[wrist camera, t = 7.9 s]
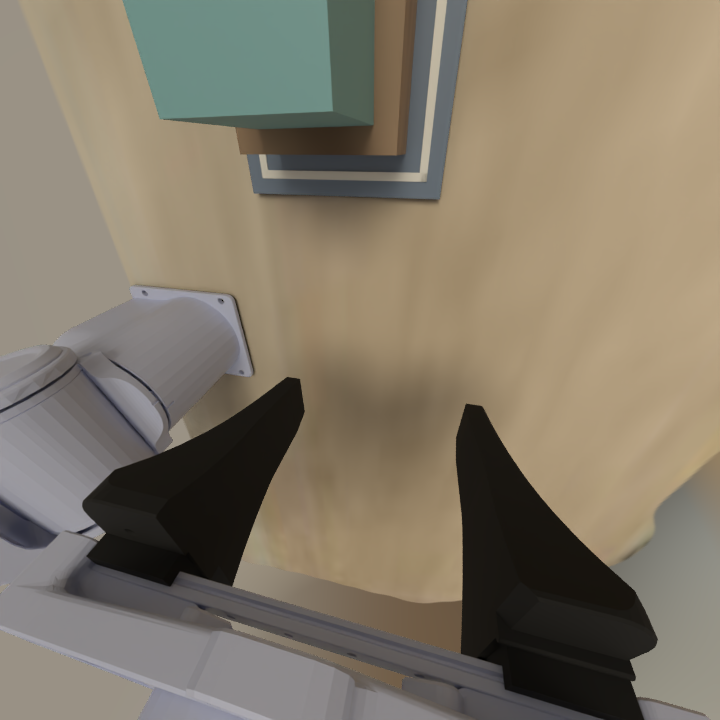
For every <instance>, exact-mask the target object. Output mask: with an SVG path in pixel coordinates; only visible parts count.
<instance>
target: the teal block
mask: <svg viewBox="0 0 720 720" xmlns="http://www.w3.org/2000/svg"><path fill="white" fill-rule="evenodd" d="M123 3H124V6H125V10H126V13H127V16H128V19H129V22H130V26H131V29H132V32H133V35H134V38H135V41H136V45H137V48H138V51H139V54H140V57H141V60H142V64H143V67H144V70H145V73H146V76H147V80H148V83H149V86H150V89H151V92H152V95H153V99H154V102H155V105H156V108H157V111H158V115H159V118H160V119H164V120H173V121H183V122H192V123H202V124H211V125H221V126H230V127H240V128H249V129H284V128H313V127H342V126H371V125H374V29H375V0H123Z"/></svg>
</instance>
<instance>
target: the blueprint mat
mask: <svg viewBox="0 0 720 720" xmlns="http://www.w3.org/2000/svg"><path fill="white" fill-rule="evenodd" d="M466 7H467V0H417V13H416V27H415V40H414V53H413V66H412V79H411V93H410V106H409V119H408V132H407V145H406V154H403V155H264V154H247V158H248V164H249V169H250V175H251V180H252V186H253V191H254V193H260V194H291V195H321V196H352V197H383V198H414V199H440V193H441V185H442V178H443V171H444V164H445V157H446V150H447V143H448V135H449V128H450V121H451V114H452V107H453V100H454V93H455V85H456V78H457V71H458V64H459V57H460V50H461V43H462V36H463V28H464V21H465V14H466Z"/></svg>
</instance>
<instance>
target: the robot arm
mask: <svg viewBox="0 0 720 720" xmlns="http://www.w3.org/2000/svg"><path fill="white" fill-rule="evenodd" d="M129 290H130V293H131V294H132V297H133V299H131V300H129V301H127V302H125V303H123V304H121V305H118V306H117V307H114V308H112V309H110V310H108V311H106V312H104V313H102V314H100V315H98V316H96V317H94V318H92V319H89V320H87V321H85V322H83V323H81V324H79V325H77V326H75V327H73V328H71V329H69V330H68V331H66V332H64V333H63V334H62V335H61V336H60V337H59V338H58V339H57V340H56V341H55V342H54V344H53V345H37V346H33V347H29V348H25V349H21V350H18V351H15V352H12V353H9V354H6V355H3V356H0V586H1V585H6V584H10V585H9V586H7V587H6V588H5V590H3V592H1V593H0V630H2V631H4V632H7V633H10V634H12V635H14V636H17V637H19V638H21V639H24V640H26V641H29V642H31V643H34V644H37V645H39V646H42V647H44V648H47V649H50V650H52V651H55V652H57V653H60V654H63V655H65V656H68V657H70V658H73V659H76V660H78V661H81V662H83V663H86V664H88V665H91V666H94V667H96V668H99V669H101V670H104V671H107V672H109V673H112V674H114V675H117V676H119V677H122V678H125V679H127V680H130V681H132V682H135V683H138V684H140V685H143V686H145V687H148V688H151V689H153V691H152V693H151V695H150V697H149V699H148V701H147V703H146V705H145V706H144V709H143V710H142V712H141V714H140V716H139V718H138V720H710V719H709V718H708V717H707V716H706V715H705V714H703V713H700V712H697V711H694V710H690V709H686V708H683V707H680V706H676V705H673V704H669V703H666V702H662V701H658V700H654V699H650V698H643V697H636V695H635V692H634V689H633V687H632V684H631V681H635V679H636V676H635V673H634V671H633V668H632V665H631V662H630V659H633V658H635V657H637V656H640V655H641V654H644V653H647V652H649V651H650V650H652V649H653V648H655V646H656V644H657V640H658V639H657V636H656V634H655V632H654V630H653V627H652V625H651V623H650V620H649V618H648V616H647V614H646V611H645V609H644V607H643V606H642V604H641V602H640V600H639V598H638V596H637V594H636V592H635V591H634V590H633V589H632V588H631V587H630V586H629V585H628V584H627V583H625V582H624V581H623V580H622V579H621V578H620V577H619V576H618V575H617V574H615V573H614V572H613V571H612V570H611V569H610V568H609V567H608V566H606V565H605V564H604V563H603V562H602V561H601V560H600V559H599V558H598V557H597V556H596V555H594V554H593V553H592V552H591V551H590V550H589V549H588V548H587V547H586V546H585V545H584V544H583V543H582V542H581V541H580V540H579V539H578V538H577V537H576V536H575V535H574V534H573V533H572V532H571V531H570V529H569V528H568V527H567V526H566V525H565V524H564V523H563V522H562V521H561V520H560V519H559V518H558V517H557V515H556V514H555V513H554V512H553V511H552V510H551V509H550V508H549V506H548V505H547V504H546V503H545V502H544V501H543V499H542V498H541V497H540V496H539V494H538V493H537V492H536V491H535V489H534V488H533V487H532V486H531V484H530V483H529V482H528V480H527V479H526V478H525V476H524V475H523V474H522V472H521V471H520V469H519V468H518V466H517V465H516V463H515V462H514V461H513V459H512V457H511V456H510V454H509V453H508V451H507V450H506V448H505V446H504V445H503V443H502V441H501V440H500V438H499V436H498V435H497V433H496V431H495V429H494V428H493V426H492V424H491V422H490V420H489V418H488V416H487V414H486V412H485V410H484V408H483V407H482V406H478V405H471V404H466V405H465V409H464V412H463V416H462V419H461V423H460V426H459V430H458V433H457V436H456V465H457V475H458V484H459V494H460V503H461V512H462V531H463V591H462V635H461V654H460V653H456V652H453V651H449V650H446V649H443V648H439V647H436V646H432V645H429V644H425V643H422V642H419V641H415V640H412V639H408V638H405V637H402V636H398V635H395V634H391V633H388V632H385V631H381V630H378V629H374V628H371V627H368V626H364V625H361V624H357V623H354V622H351V621H347V620H343V619H340V618H337V617H334V616H330V615H327V614H323V613H320V612H317V611H313V610H309V609H306V608H303V607H300V606H296V605H293V604H289V603H286V602H282V601H279V600H276V599H272V598H269V597H265V596H262V595H259V594H255V593H252V592H248V591H245V590H242V589H238V588H235V587H232V585H233V582H234V579H235V576H236V573H237V570H238V567H239V564H240V561H241V558H242V555H243V552H244V549H245V546H246V543H247V541H248V538H249V535H250V532H251V530H252V527H253V524H254V522H255V519H256V516H257V514H258V511H259V509H260V506H261V504H262V501H263V499H264V496H265V494H266V492H267V489H268V487H269V484H270V482H271V480H272V478H273V476H274V474H275V472H276V470H277V468H278V466H279V465H280V463H281V461H282V459H283V457H284V455H285V453H286V452H287V450H288V448H289V446H290V444H291V442H292V440H293V438H294V437H295V435H296V433H297V431H298V428H299V426H300V423H301V420H302V418H303V415H304V412H305V410H304V403H303V397H302V390H301V383H300V379H297V378H290V377H287V378H285V379H284V380H283V381H281V382H280V383H279V384H277V385H276V386H275V387H273V388H272V389H271V390H269V391H268V392H267V393H265V394H264V395H263V396H261V397H260V398H259V399H257V400H256V401H255V402H253V403H252V404H251V405H249V406H248V407H246V408H245V409H243V410H242V411H240V412H239V413H237V414H236V415H234V416H233V417H231V418H230V419H228V420H226V421H225V422H223V423H221V424H220V425H218V426H216V427H214V428H213V429H211V430H209V431H207V432H205V433H203V434H201V435H199V436H197V437H195V438H193V439H191V440H189V441H187V442H185V443H183V444H181V445H179V446H176V447H174V448H172V449H170V450H167V451H165V452H163V451H164V450H165V449H166V448H167V447H168V446H169V445H170V444H171V443H172V441H173V439H172V438H171V437H170V435H169V430H170V429H171V428H172V427H173V426H174V425H175V424H176V423H177V422H178V421H179V420H180V419H181V418H182V417H183V416H184V415H185V414H186V413H187V412H188V411H189V410H190V409H191V408H192V407H193V406H194V405H195V404H196V403H197V402H198V400H199V399H200V398H201V397H202V396H203V395H204V394H205V393H206V392H207V391H208V390H209V389H210V388H211V387H212V386H213V385H214V384H215V383H216V382H217V381H218V380H219V379H220V378H221V377H222V376H223V375H224V374H232V375H238V376H245V377H251V376H252V375H253V368H252V364H251V360H250V356H249V353H248V349H247V345H246V341H245V337H244V333H243V330H242V326H241V322H240V318H239V314H238V310H237V307H236V303H235V300H234V298H233V297H232V296H231V295H229V294H222V293H212V292H202V291H192V290H182V289H172V288H162V287H152V286H142V285H133V286H131V287H130V288H129ZM221 299H223V301H224V302H223V301H222V300H221ZM243 371H244V372H243ZM105 532H106V534H105V535H104V536H103V537H102V539H101V540H100V541H97V540H95V539H94V538H95V537H96V536H99V535H101V534H103V533H105ZM215 615H216V616H215ZM218 616H220V617H223V618H226V619H229V620H232V621H236V622H239V623H242V624H245V625H248V626H251V627H254V628H257V629H261V630H264V631H267V632H270V633H274V634H276V635H280V636H283V637H286V638H289V639H292V640H295V641H299V642H302V643H305V644H308V645H311V646H315V647H318V648H321V649H324V650H327V651H330V652H333V653H337V654H340V655H343V656H346V657H349V658H353V659H356V660H359V661H362V662H365V663H368V664H371V665H375V666H378V667H381V668H384V669H387V670H391V671H394V672H397V673H400V674H403V675H406V676H409V677H405V678H404V679H403V680H402V689H400V688H397V687H395V686H392V685H390V684H387V683H385V682H382V681H380V680H377V679H375V678H372V677H370V676H367V675H364V674H362V673H360V672H357V671H354V670H352V669H349V668H347V667H344V666H341V665H339V664H336V663H334V662H331V661H328V660H326V659H323V658H321V657H318V656H315V655H312V654H309V653H306V652H303V651H300V650H296V649H293V648H290V647H287V646H284V645H281V644H278V643H275V642H272V641H268V640H265V639H262V638H259V637H256V636H253V635H250V634H247V633H244V632H240V631H236V630H234V629H232V626H231V623H230V622H228V621H226V620H224V619H222V618H220V617H218ZM410 677H413V678H410Z"/></svg>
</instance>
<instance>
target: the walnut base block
mask: <svg viewBox="0 0 720 720" xmlns="http://www.w3.org/2000/svg"><path fill="white" fill-rule="evenodd" d="M416 13H417V0H375V29H374V125H371V126H342V127H313V128H284V129H249V128H240V127H235V128H236V133H237V139H238V144H239V149H240V154H264V155H403V154H406V145H407V132H408V119H409V106H410V93H411V79H412V66H413V53H414V40H415V27H416Z"/></svg>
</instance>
